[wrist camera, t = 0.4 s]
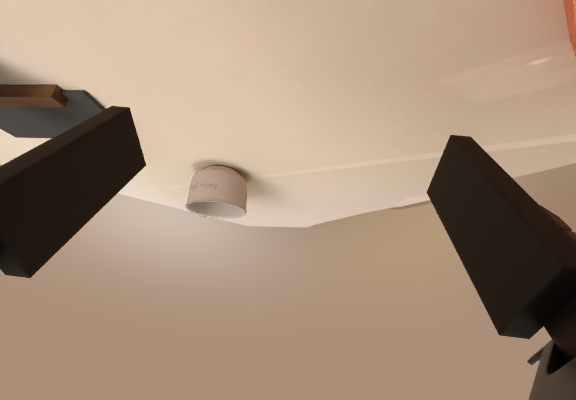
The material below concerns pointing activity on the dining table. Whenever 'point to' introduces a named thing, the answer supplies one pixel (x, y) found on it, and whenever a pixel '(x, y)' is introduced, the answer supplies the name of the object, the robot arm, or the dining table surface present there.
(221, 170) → the teacup
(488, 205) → the robot arm
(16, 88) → the stop bar
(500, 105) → the dining table surface
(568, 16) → the pottery
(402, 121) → the dining table surface
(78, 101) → the mat
